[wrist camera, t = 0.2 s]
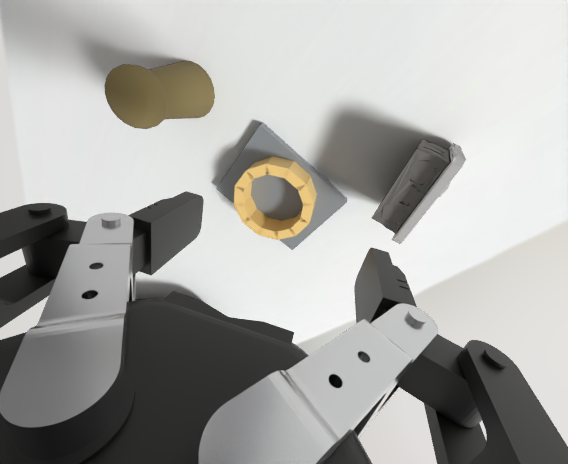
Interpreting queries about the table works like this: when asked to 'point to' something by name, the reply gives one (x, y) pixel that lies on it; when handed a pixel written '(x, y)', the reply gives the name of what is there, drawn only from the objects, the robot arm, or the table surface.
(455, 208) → the table surface
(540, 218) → the table surface
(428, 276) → the table surface
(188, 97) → the cork
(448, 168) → the electrical switch
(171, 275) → the table surface
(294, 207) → the collar plate
